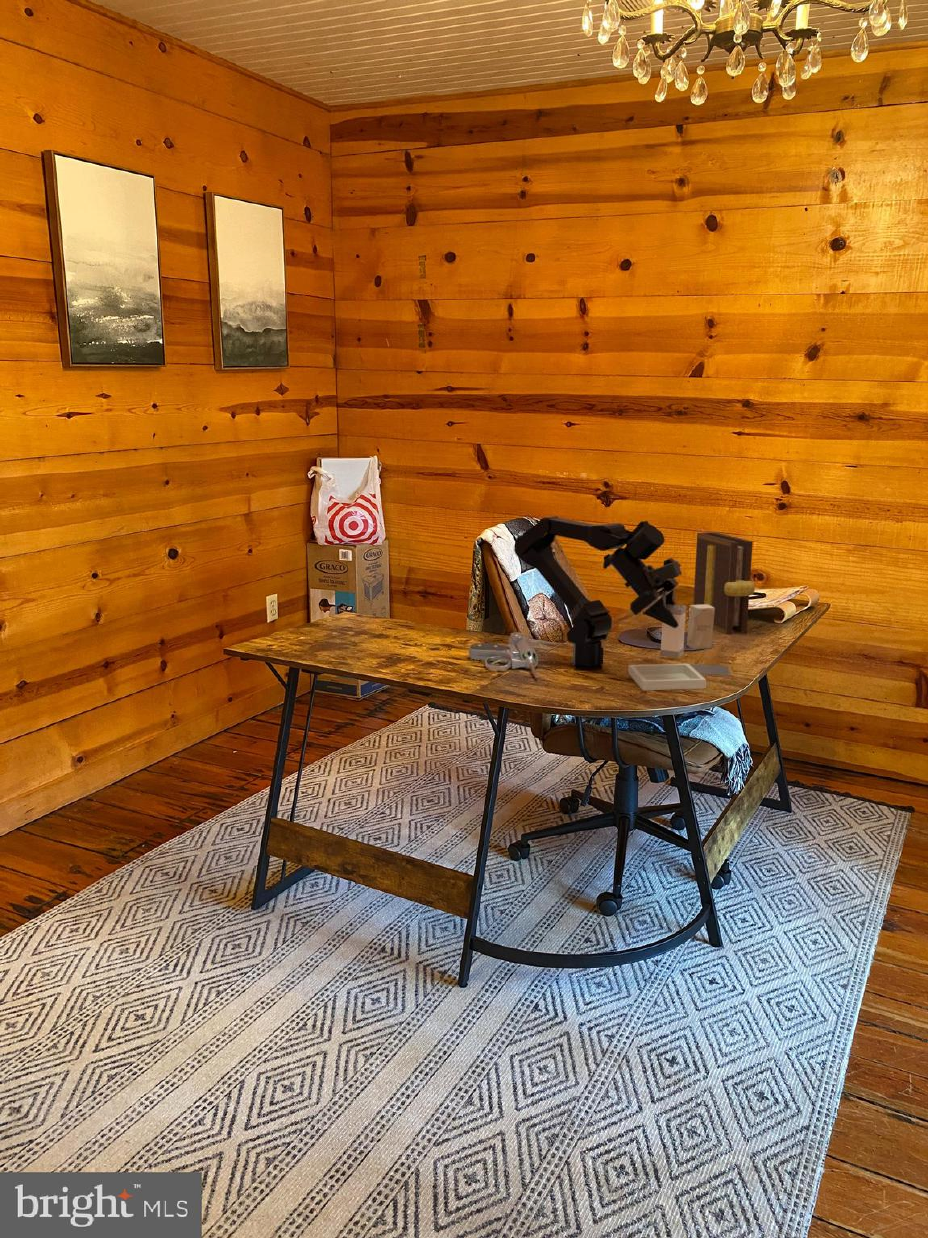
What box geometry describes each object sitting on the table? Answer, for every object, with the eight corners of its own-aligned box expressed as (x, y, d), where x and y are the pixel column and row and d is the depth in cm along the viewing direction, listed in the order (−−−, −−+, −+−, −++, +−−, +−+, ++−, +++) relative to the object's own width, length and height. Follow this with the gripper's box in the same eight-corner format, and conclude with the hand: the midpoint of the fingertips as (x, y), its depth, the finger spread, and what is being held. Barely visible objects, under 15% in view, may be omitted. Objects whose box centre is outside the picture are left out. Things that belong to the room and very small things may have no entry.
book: (686, 619, 277) (691, 533, 271) (712, 617, 279) (717, 531, 273) (729, 637, 256) (734, 544, 250) (756, 635, 259) (763, 542, 253)
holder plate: (685, 675, 222) (685, 673, 221) (684, 666, 229) (684, 663, 229) (730, 677, 220) (730, 675, 220) (727, 668, 227) (727, 666, 227)
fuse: (659, 655, 214) (662, 607, 212) (665, 651, 218) (668, 604, 215) (678, 658, 212) (681, 609, 210) (683, 653, 216) (686, 606, 213)
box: (693, 651, 243) (695, 608, 240) (686, 646, 247) (688, 604, 244) (712, 649, 244) (715, 607, 241) (705, 645, 248) (707, 603, 245)
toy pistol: (467, 654, 244) (529, 647, 245) (480, 696, 217) (549, 688, 218) (465, 632, 242) (527, 625, 243) (477, 672, 215) (548, 664, 216)
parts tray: (642, 692, 209) (643, 681, 208) (628, 675, 222) (628, 664, 221) (705, 690, 210) (706, 679, 209) (687, 673, 223) (688, 663, 222)
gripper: (647, 554, 203) (695, 610, 201) (672, 542, 219) (717, 594, 217) (610, 586, 209) (657, 642, 206) (637, 572, 225) (680, 624, 222)
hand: (679, 624), depth 213 cm, fingers closed on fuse, 4 cm apart
